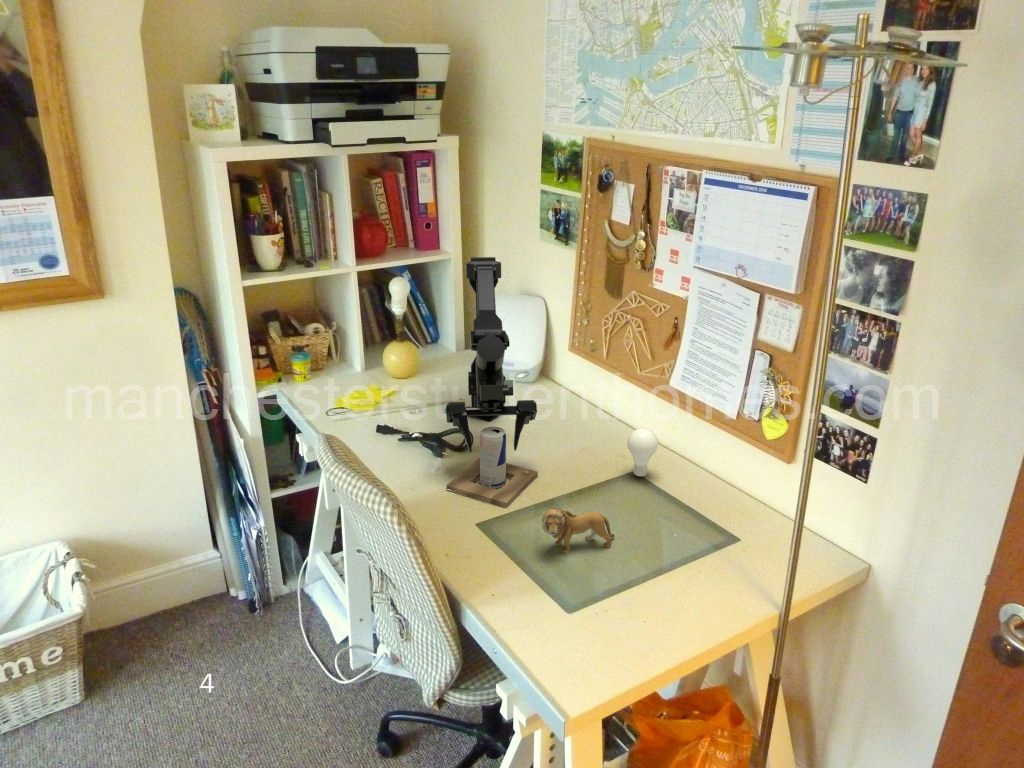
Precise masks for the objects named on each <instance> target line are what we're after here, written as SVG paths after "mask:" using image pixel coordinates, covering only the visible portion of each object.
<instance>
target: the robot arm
mask: <svg viewBox="0 0 1024 768" xmlns="http://www.w3.org/2000/svg"><path fill="white" fill-rule="evenodd" d="M465 278H466V279H468V285H469V286H470V288H471V289H472V291H473V293H474V294H475V318H474V319H473V327H472V329H473V330H471V331H470V334H469V335H470V350H471V351H474V352H476V355H475V357H474V359H473V361H472V362H471V364H470V371H468V372H467V388H468V390H467V391H468V392H467V393H468V396H470V399H471V402H470V403H471V406H466V401H453V402H452V401H451V402H450V401H448V402H447V404H446V405H445V407H446V414H445V415H446V422H447V423H449V424H452V426H453V427H457V428H458V429H459V431H460V433H461V435H462V436H463V438H464V441H465V444H466V446H467V449H468V451H469V453H472V440H471V433H470V428H469V427H470V426H469V420H468V417H470V416H472V418H474V417H476V419H478V418H480V419H479V420H483V421H487V422H492V421H493V420H494V419H495V418H497V417H498V416H515V420H514V421H515V423H514V433H513V434H514V435H513V450H514V452H516V451H517V448H518V445H519V441H520V437H521V434H522V431H523V429H524V427H525V425H528V424H530V421H535V419H536V416H537V414H538V407H537V406H538V405H537V402H536V401H535V400H534V399H524V400H523V399H521V400H518V399H517V401H516V405H505V404H506V402H507V401H506V400H507V399H506V396H507V397H508V396H511V397H512V396H514V381H513V379H512V380H510V379H509V380H507V379H506V376H505V375H504V372H503V371H504V370H503V364H504V361H505V360H504V359H505V351H507V350H508V347H509V348H510V337H509V335H508V334H507V332H506V330H503V321H502V319H501V318H500V317H499V316H498V315H497V309H496V308H497V307H496V291H495V289H496V287H497V285H498V283H499V279H501V278H502V262H501V261H497V260H496V257H495V256H492V257H491V256H487V257H485V256H483V257H476V256H475V257H473V256H471V257H470V261H466V262H465Z"/></svg>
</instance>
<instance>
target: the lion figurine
mask: <svg viewBox="0 0 1024 768" xmlns="http://www.w3.org/2000/svg"><path fill="white" fill-rule="evenodd" d="M541 522H542V530H543V531H544V533H545V534H547V535H550V536H551V537H552V538H554V539H557V540H556V541H554V545H555V546H556V547H559V546H561V545H562V543H563V544H564V545H563V548H562V549H561V553H562V554H565V555H567V554H568V553H569V552H570V543H571V538H572V536H573V535H580V534H585V533H586V532H588V531H589V530H590V531H591V534H590V535H586V536H585V537H584V538H585V540H586V541H592V540H593V538H595V536H599V537H600V538H601V539H604V540H606V542H604V543H603V547H604V548H606V549H608V548H610V547H611V546H612V540H611V538H615V537H616V536H615V534H613V533H611V532H612V531H611V525H610V522H609V520H608V518H607V517H606V516H605V515H604V514H602V513H600V512H597V511H588V512H586V513H582V514H573V513H572V512H570V511H568V510H564V509H561V508H549V509H547V510H546V511H545V512H544V513H543V515H542V518H541Z"/></svg>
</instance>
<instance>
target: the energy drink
mask: <svg viewBox="0 0 1024 768" xmlns="http://www.w3.org/2000/svg"><path fill="white" fill-rule="evenodd" d="M479 457H480V478H479V483H480V485H483V486H486V487H490V488H493V489H497V490H498V489H501V488H502V487H503V486H504V485H506V483H507V482H506V480H507V479H506V478H507V477H506V463H507V434H506V432H505V430H504V428H502V427H499V426H487V427H484V428H483V429H481V431H480V434H479Z"/></svg>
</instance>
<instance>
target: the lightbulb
mask: <svg viewBox="0 0 1024 768" xmlns="http://www.w3.org/2000/svg"><path fill="white" fill-rule="evenodd" d="M658 446H659V442H658V438H657V436H656V434H655V433H654V432H653V431H652V430H650V429H647V428H643V427H641V428H637V429H634V430H633V431H632V432H631V433H629V435H628V438H627V449H628V451H629V453H630V454H631V456H632V460H633V463H634V466H633V474H634V476H637V477H639V478H641V477H645V476H646V475H647V470H648V464H649V462H650V459H651V458H652V457H653V455H654V454H656V452H657V450H658Z"/></svg>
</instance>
